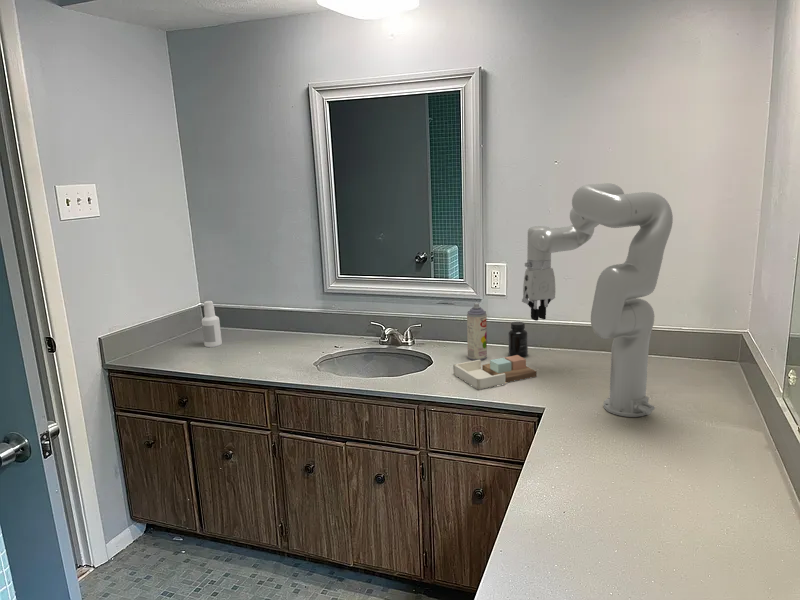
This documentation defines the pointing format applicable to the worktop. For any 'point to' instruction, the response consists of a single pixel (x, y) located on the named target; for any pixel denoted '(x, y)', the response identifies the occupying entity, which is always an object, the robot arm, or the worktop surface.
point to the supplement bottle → (518, 340)
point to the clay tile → (516, 362)
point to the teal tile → (500, 365)
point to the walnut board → (512, 373)
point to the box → (477, 375)
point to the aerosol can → (477, 333)
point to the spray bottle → (211, 326)
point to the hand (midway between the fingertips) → (538, 318)
